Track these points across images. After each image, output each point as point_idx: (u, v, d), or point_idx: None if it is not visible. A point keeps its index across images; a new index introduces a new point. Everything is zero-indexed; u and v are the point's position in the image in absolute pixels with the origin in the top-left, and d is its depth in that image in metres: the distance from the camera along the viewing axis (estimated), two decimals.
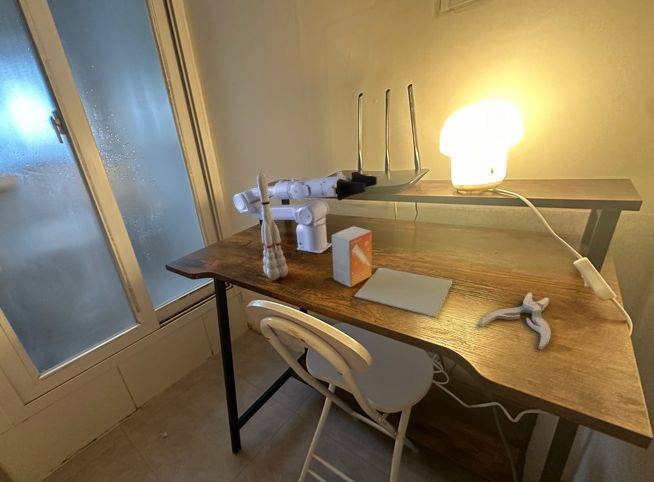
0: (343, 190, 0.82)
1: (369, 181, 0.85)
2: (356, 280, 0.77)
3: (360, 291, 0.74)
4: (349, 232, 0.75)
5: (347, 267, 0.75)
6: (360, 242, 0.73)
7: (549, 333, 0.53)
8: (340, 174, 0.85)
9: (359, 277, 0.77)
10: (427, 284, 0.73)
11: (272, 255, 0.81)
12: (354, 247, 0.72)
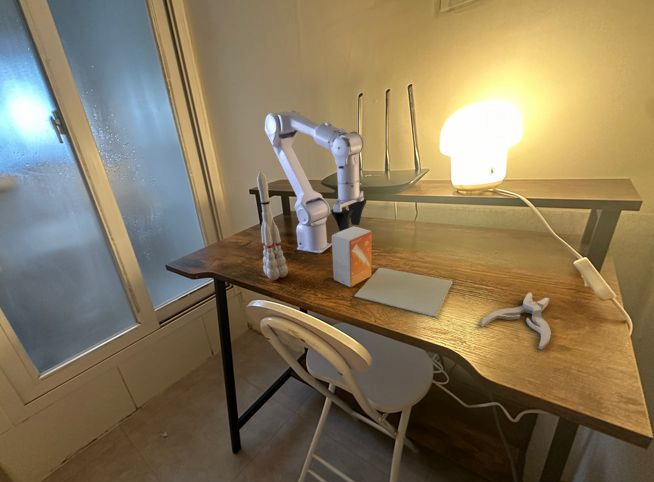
0: None
1: (355, 218, 0.89)
2: (356, 280, 0.77)
3: (360, 291, 0.74)
4: (349, 232, 0.75)
5: (347, 267, 0.75)
6: (360, 242, 0.73)
7: (549, 333, 0.53)
8: None
9: (359, 277, 0.77)
10: (427, 284, 0.73)
11: (272, 255, 0.81)
12: (354, 247, 0.72)
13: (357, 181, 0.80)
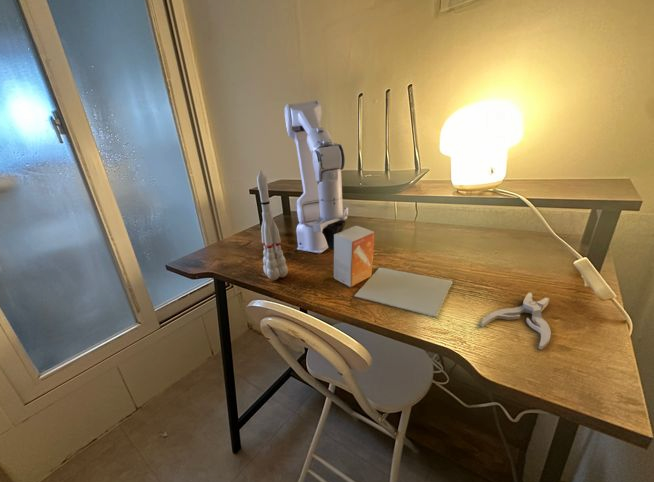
0: None
1: None
2: (356, 280, 0.77)
3: (360, 291, 0.74)
4: (352, 232, 0.74)
5: (348, 267, 0.74)
6: (363, 243, 0.73)
7: (549, 333, 0.53)
8: None
9: (360, 277, 0.77)
10: (427, 284, 0.73)
11: (272, 255, 0.81)
12: (356, 248, 0.72)
13: (340, 198, 0.72)
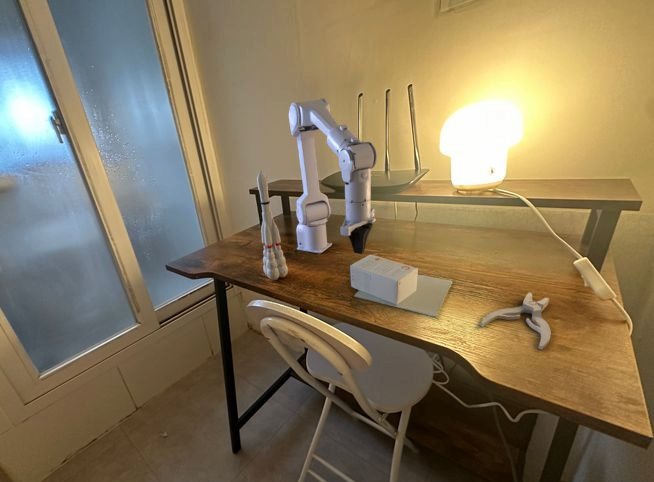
0: None
1: None
2: None
3: (360, 291, 0.74)
4: (407, 285, 0.67)
5: (368, 290, 0.72)
6: None
7: (549, 333, 0.53)
8: None
9: None
10: (427, 284, 0.73)
11: (272, 255, 0.81)
12: None
13: (368, 199, 0.68)
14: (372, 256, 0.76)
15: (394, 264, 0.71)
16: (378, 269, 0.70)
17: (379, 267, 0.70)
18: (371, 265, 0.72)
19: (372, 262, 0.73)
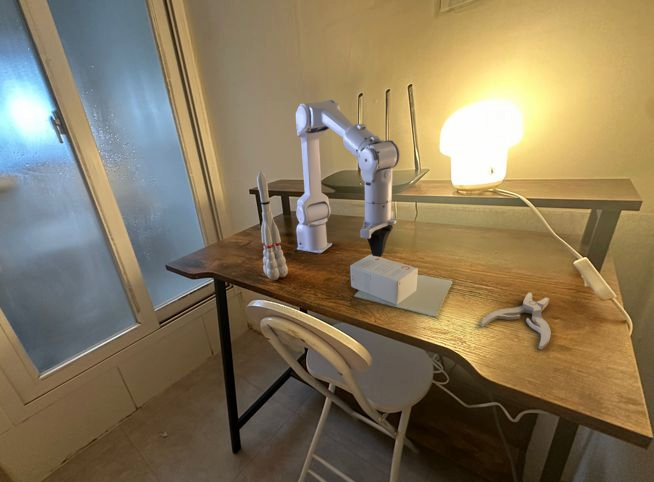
0: None
1: None
2: None
3: (360, 291, 0.74)
4: (407, 285, 0.67)
5: (368, 290, 0.72)
6: None
7: (549, 333, 0.53)
8: None
9: None
10: (427, 284, 0.73)
11: (272, 255, 0.81)
12: None
13: (390, 200, 0.65)
14: (372, 256, 0.76)
15: (394, 264, 0.71)
16: (378, 269, 0.70)
17: (379, 267, 0.70)
18: (371, 265, 0.72)
19: (372, 262, 0.73)
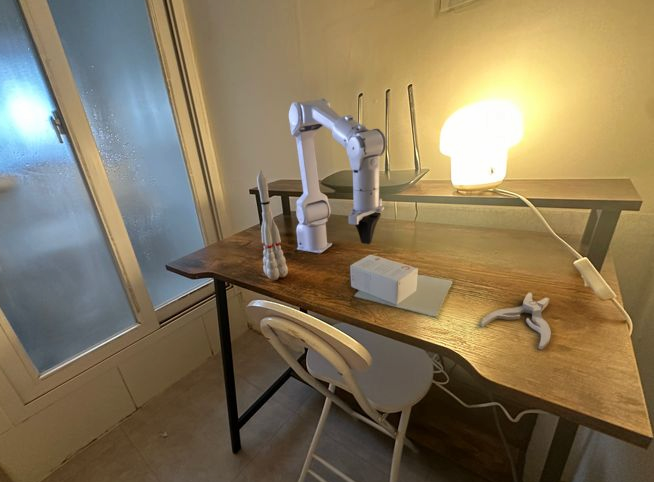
0: (363, 220, 0.72)
1: None
2: None
3: (360, 291, 0.74)
4: (407, 285, 0.67)
5: (368, 290, 0.72)
6: None
7: (549, 333, 0.53)
8: None
9: None
10: (427, 284, 0.73)
11: (272, 255, 0.81)
12: None
13: (377, 188, 0.67)
14: (372, 256, 0.76)
15: (394, 264, 0.71)
16: (378, 269, 0.70)
17: (379, 267, 0.70)
18: (371, 265, 0.72)
19: (372, 262, 0.73)
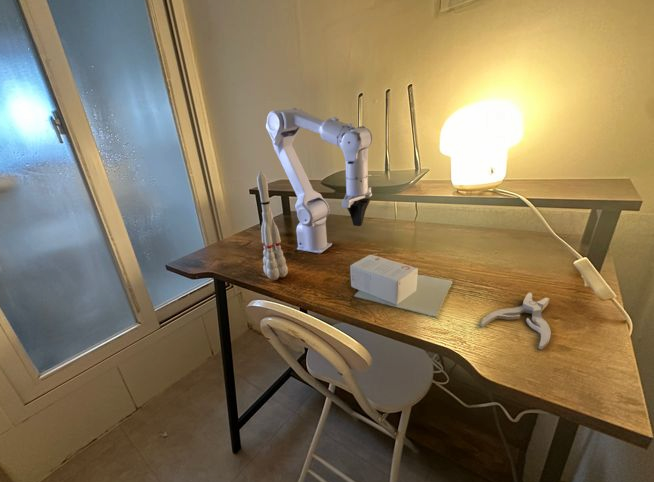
0: (355, 205, 0.84)
1: None
2: None
3: (360, 291, 0.74)
4: (407, 285, 0.67)
5: (368, 290, 0.72)
6: None
7: (549, 333, 0.53)
8: None
9: None
10: (427, 284, 0.73)
11: (272, 255, 0.81)
12: None
13: (366, 176, 0.79)
14: (372, 256, 0.76)
15: (394, 264, 0.71)
16: (378, 269, 0.70)
17: (379, 267, 0.70)
18: (371, 265, 0.72)
19: (372, 262, 0.73)
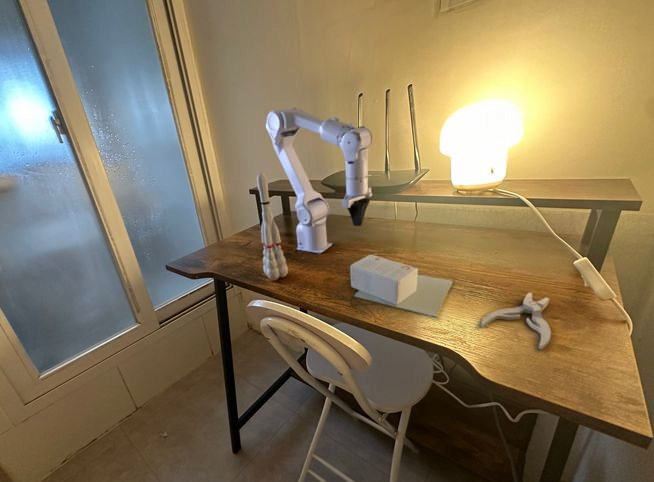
0: (355, 205, 0.84)
1: None
2: None
3: (360, 291, 0.74)
4: (407, 285, 0.67)
5: (368, 290, 0.72)
6: None
7: (549, 333, 0.53)
8: None
9: None
10: (427, 284, 0.73)
11: (272, 255, 0.81)
12: None
13: (366, 176, 0.79)
14: (372, 256, 0.76)
15: (394, 264, 0.71)
16: (378, 269, 0.70)
17: (379, 267, 0.70)
18: (371, 265, 0.72)
19: (372, 262, 0.73)
